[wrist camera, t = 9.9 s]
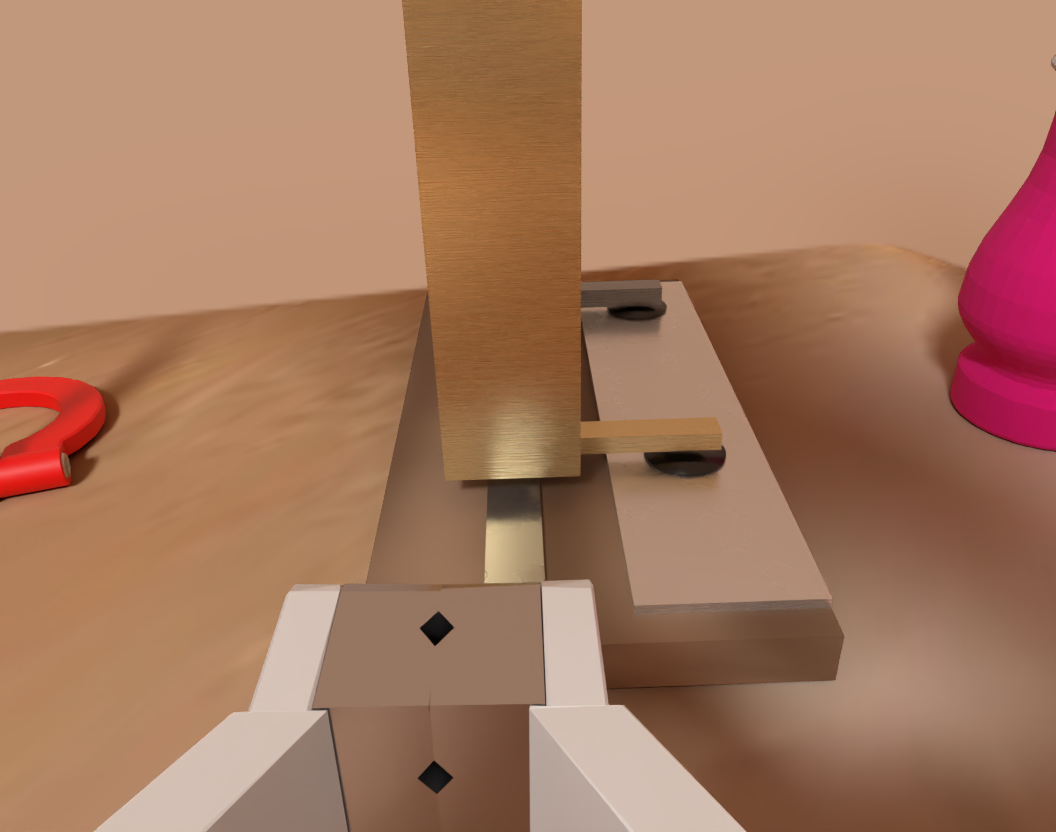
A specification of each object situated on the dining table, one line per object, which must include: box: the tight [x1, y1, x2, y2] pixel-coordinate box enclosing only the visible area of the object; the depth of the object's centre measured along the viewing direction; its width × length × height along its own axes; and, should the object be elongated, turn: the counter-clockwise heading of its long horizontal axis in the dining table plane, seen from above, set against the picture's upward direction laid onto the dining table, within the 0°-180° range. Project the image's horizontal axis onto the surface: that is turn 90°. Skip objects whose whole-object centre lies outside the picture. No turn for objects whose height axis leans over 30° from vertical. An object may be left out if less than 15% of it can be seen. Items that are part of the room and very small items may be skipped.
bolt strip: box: [484, 281, 833, 615], centre depth 32 cm, size 9×22×1 cm, turn 1°
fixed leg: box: [581, 279, 662, 308], centre depth 34 cm, size 8×4×18 cm, turn 91°
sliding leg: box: [402, 0, 723, 481], centre depth 23 cm, size 8×4×17 cm, turn 91°
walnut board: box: [366, 280, 844, 688], centre depth 32 cm, size 12×24×2 cm, turn 1°
